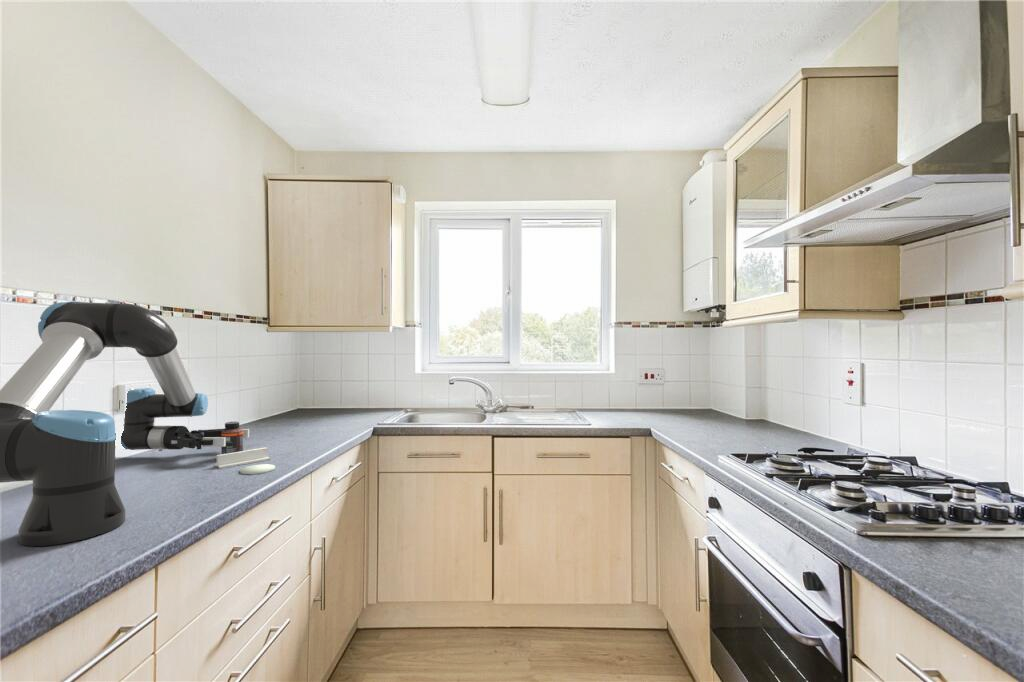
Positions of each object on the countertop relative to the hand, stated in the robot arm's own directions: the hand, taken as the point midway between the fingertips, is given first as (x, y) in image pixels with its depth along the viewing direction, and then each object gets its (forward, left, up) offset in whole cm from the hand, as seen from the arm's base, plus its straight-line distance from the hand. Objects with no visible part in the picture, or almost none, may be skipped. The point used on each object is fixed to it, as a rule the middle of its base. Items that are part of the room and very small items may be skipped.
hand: (237, 437), depth 146 cm
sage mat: (-21, +1, -6) cm, 22 cm away
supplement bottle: (+1, +1, -7) cm, 7 cm away
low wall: (-9, +1, -6) cm, 11 cm away
